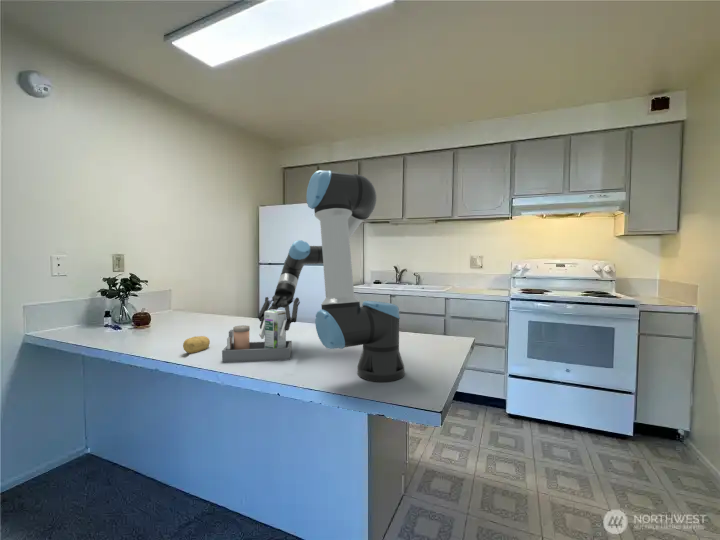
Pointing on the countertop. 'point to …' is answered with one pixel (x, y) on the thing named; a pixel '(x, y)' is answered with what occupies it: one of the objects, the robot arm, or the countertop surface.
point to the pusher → (230, 340)
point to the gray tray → (257, 353)
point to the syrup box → (274, 328)
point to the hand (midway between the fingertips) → (271, 337)
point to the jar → (241, 337)
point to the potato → (196, 344)
